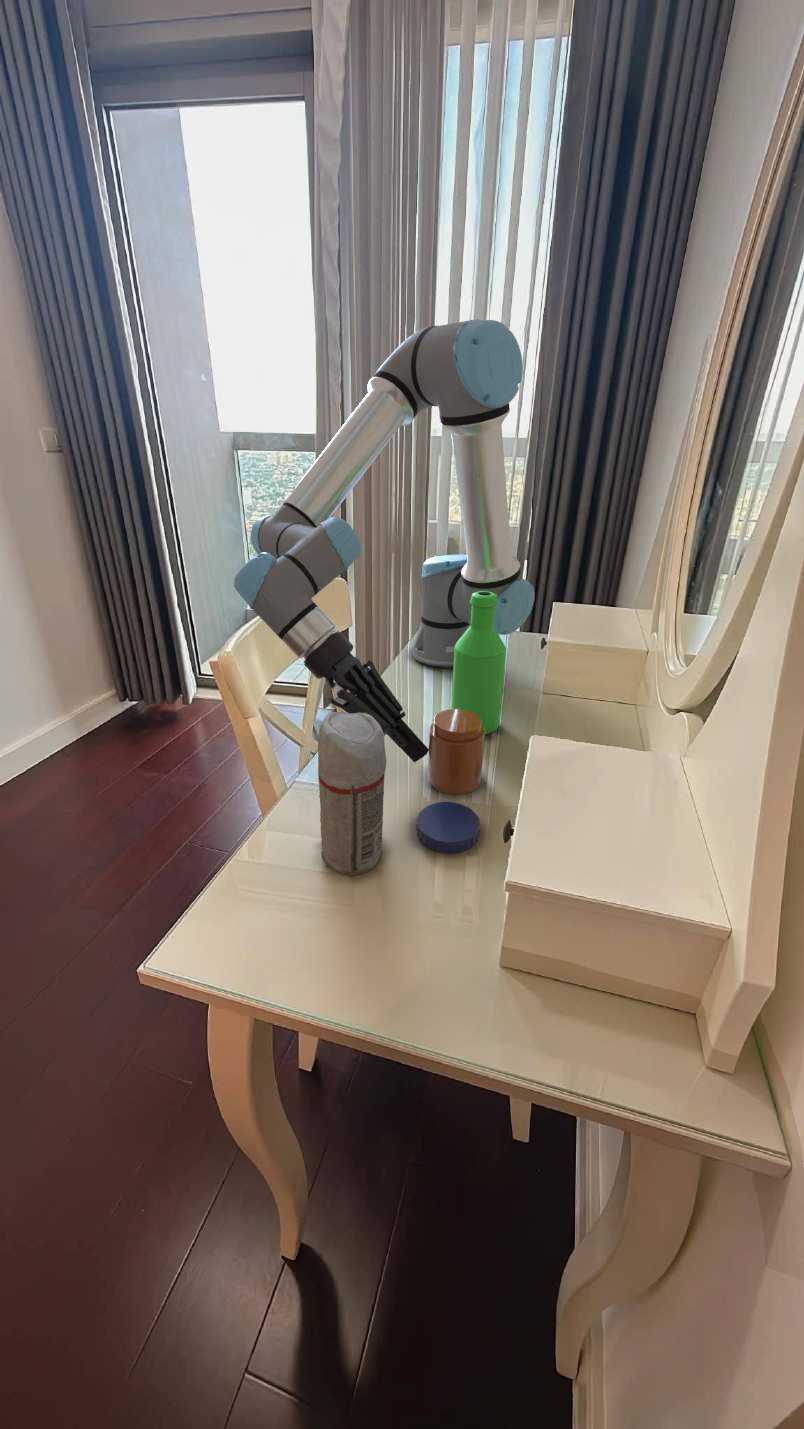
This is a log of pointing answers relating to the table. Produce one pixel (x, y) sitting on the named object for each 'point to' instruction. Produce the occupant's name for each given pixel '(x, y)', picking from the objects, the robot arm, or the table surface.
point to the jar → (455, 751)
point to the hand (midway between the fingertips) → (421, 756)
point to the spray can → (351, 791)
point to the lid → (448, 827)
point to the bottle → (480, 664)
